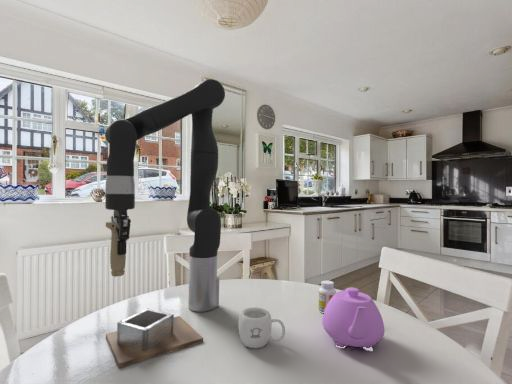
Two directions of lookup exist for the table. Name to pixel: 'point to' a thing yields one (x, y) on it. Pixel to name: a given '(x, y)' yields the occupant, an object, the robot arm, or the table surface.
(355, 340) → the teapot
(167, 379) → the table surface
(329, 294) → the supplement bottle
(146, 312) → the collar
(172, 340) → the walnut board
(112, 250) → the handle
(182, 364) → the table surface
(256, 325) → the mug
